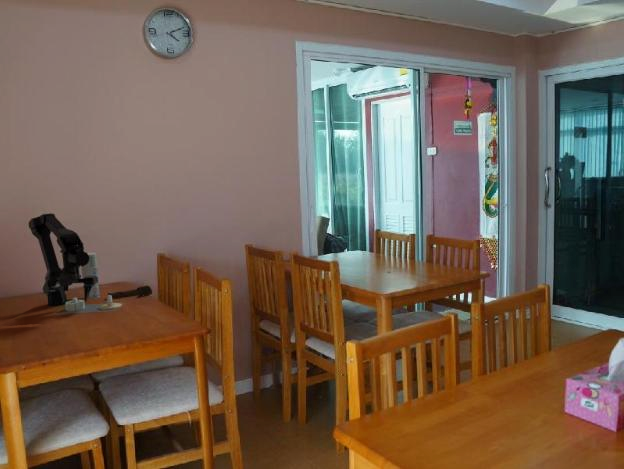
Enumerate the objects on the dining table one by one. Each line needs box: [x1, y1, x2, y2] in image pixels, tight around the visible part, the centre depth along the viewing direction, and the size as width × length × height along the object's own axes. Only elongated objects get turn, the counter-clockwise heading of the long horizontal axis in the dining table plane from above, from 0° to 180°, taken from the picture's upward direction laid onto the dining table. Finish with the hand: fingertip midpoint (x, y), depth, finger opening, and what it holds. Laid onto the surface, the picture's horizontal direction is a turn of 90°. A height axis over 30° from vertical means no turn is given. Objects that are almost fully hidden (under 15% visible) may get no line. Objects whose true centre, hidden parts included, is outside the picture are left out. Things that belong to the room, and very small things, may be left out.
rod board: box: [58, 294, 125, 315], centre depth 230 cm, size 22×14×6 cm, turn 91°
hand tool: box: [107, 285, 153, 300], centre depth 250 cm, size 19×4×5 cm, turn 120°
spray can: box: [80, 252, 100, 299], centre depth 253 cm, size 6×6×20 cm
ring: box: [64, 299, 86, 311], centre depth 230 cm, size 7×7×3 cm
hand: (74, 302), depth 230 cm, fingers open, 9 cm apart
